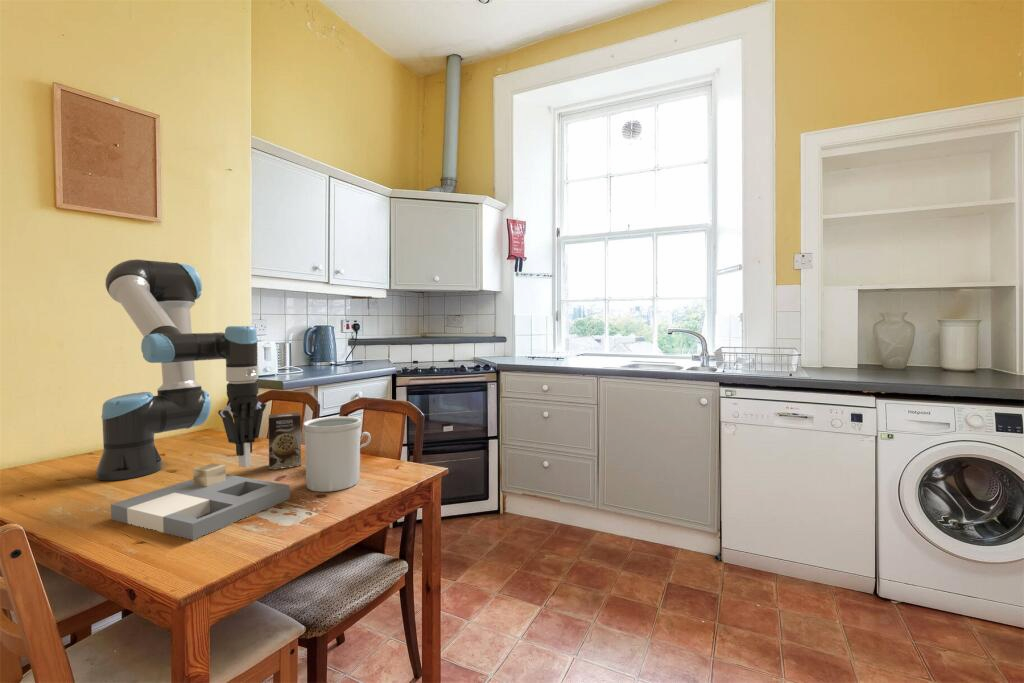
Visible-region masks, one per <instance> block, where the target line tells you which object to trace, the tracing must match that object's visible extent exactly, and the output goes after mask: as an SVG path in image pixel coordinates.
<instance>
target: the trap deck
mask: <svg viewBox="0 0 1024 683" xmlns="http://www.w3.org/2000/svg"><path fill="white" fill-rule="evenodd" d="M289 498H290V499H291V486H290V485H289V484H285V483H279V482H275V481H274V482H273V481H269V480H262V479H255V478H250V477H243V476H239V475H232V474H227V473H226V481H223V482H220V483H217V484H214V485H211V486H208V487H205V486H199V485H194V480H193V478H191V479H189V480H188V479H187V480H184V481H181V482H179V483H175V484H172V485H168V486H165V487H162V488H159V489H156V490H152V491H149V492H145V493H143V494H139V495H135V496H133V497H129V498H126V499H123V500H120V501H117V502H114V503H111V504H110V515H111V520H112V521H115V522H120V523H124V524H128V525H131V524H132V525H131V526H136V527H139V526H140V527H139V528H143V527H144V528H143V529H147V528H148V529H149V530H150V529H153V530H152V531H154V530H157V531H156V532H158V531H159V532H158V533H162V532H164V533H163V534H166V533H167V535H170V534H171V536H174V535H175V537H177V536H179V538H181V537H184V538H183V539H185V538H187V539H186V540H189V539H191V540H190V541H193V540H194V541H196V540H198V539H200V538H199V537H201V536H203V535H205V536H207V535H206V534H208V533H210V534H212V533H213V532H212V531H215V530H217V531H219V530H221V529H223V528H222V527H224V528H226V527H228V526H231V525H232V524H231V523H233V524H235V523H237V522H236V521H238V520H240V519H242V520H244V519H243V518H245V517H247V516H249V517H251V516H253V515H252V514H254V515H256V514H258V513H261V512H263V511H265V510H268V509H270V508H272V507H274V505H275V506H277V505H279V504H281V503H284V502H286V501H288V500H290V499H289ZM287 499H288V500H287ZM285 500H286V501H285ZM283 501H284V502H283ZM278 503H279V504H278ZM276 504H277V505H276ZM267 508H268V509H267ZM262 510H263V511H262ZM260 511H261V512H260ZM257 512H258V513H257ZM255 513H256V514H255ZM250 515H251V516H250ZM247 518H248V517H247ZM245 519H246V518H245ZM240 521H241V520H240ZM234 522H235V523H234ZM238 522H239V521H238ZM230 524H231V525H230ZM227 525H228V526H227ZM225 526H226V527H225ZM220 528H221V529H220ZM148 529H147V530H148ZM218 529H219V530H218ZM211 532H212V533H211ZM215 532H216V531H215ZM208 535H209V534H208ZM203 537H204V536H203ZM197 538H198V539H197ZM201 538H202V537H201ZM195 539H196V540H195Z"/></svg>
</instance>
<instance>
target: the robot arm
mask: <svg viewBox="0 0 1024 683" xmlns="http://www.w3.org/2000/svg"><path fill="white" fill-rule="evenodd" d="M105 288H106V290H107V293H108V294H109V296H110V297H111V299H112V300H113V301H115V302H117V303H119V304H121V307H123V309H124V311H125V312H126V313H127V314H128V316H129V317H130V319H131V320H132V322H133V324H135V326H136V328H137V329H138V330H139V332H140V333H141V335H142V337H143V338H142V340H141V345H140V346H141V347H140V349H141V353H142V357H143V359H144V360H145V361H146V362H147V363H150V364H151V363H152V364H154V363H156V364H159V363H160V365H161V376H162V384H161V385H160V386H159V387H158V388H157V389H156V390H157V392H156V393H157V395H154V394H153V392H150V391H142V392H135V393H134V392H133V393H129V394H123V395H118V396H116V397H112V398H109V399H107V400H105V402H104V403H103V404H102V407H101V408H102V409H101V410H102V411H101V419H102V439H103V440H102V442H103V449H102V450H103V451H102V454H101V456H100V458H99V459H100V460H99V462H98V465H97V467H96V471H95V473H96V475H95V477H96V479H97V480H98V481H122V480H128V479H135V478H139V477H143V476H144V477H145V476H147V475H150V474H153V473H156V472H158V471H160V470H162V468H163V460H162V458H161V456H160V453H159V451H158V449H157V446H156V445H155V434H161V433H165V432H172V431H177V430H183V429H187V430H188V429H191V428H194V427H198V426H199V427H200V426H201V425H203V424H204V423H205V422H206V421H207V419H208V418H209V416H210V413H211V407H212V404H211V403H212V402H211V401H212V400H211V397H210V393H209V392H208V391H206V390H203V389H202V385H201V384H200V383H199V382H198V381H196V372H195V371H196V370H195V362H196V361H197V362H198V361H213V360H225V380H226V382H228V383H227V384H226V396H227V402H226V406H225V407H224V408H223V409H220V410H218V413H217V414H218V415H219V416H220V418H221V419H222V423H223V427H224V430H225V434H226V437H227V442H228V443H230V444H234V445H235V454H236V456H238V467H242V468H249V467H251V462H252V461H251V453H253V443H254V442H256V439H258V438H259V437H260V436H259V435H260V431H261V427H262V426H261V425H262V420H263V414H264V411H265V409H266V407H267V404H266V403H263V402H260V401H259V398H258V396H257V395H258V394H259V383H258V381H257V380H258V378H259V375H258V374H259V372H258V371H259V370H258V367H259V366H258V341H259V340H258V338H257V337H258V336H257V329H256V327H255V326H253V325H247V326H246V325H237V326H236V325H230V326H229V325H227V327H225V329H224V332H220V331H219V332H205V333H203V332H200V333H199V332H198V333H197V332H196V333H193V331H192V320H191V319H192V317H191V308H193V306H195V304H196V300H198V299H200V297H201V295H202V291H203V284H202V279H201V276H200V274H199V273H198V271H197V270H196V269H195V267H193V266H192V265H190V264H184V263H179V262H168V261H160V260H159V261H157V260H156V261H155V260H148V259H147V260H145V259H138V258H137V259H136V258H135V259H129V260H125V261H122V262H120V263H118V264H116V265H114V266H113V267H112V268H111V269H110V270H109V271H108V273H107V275H106V277H105Z"/></svg>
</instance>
